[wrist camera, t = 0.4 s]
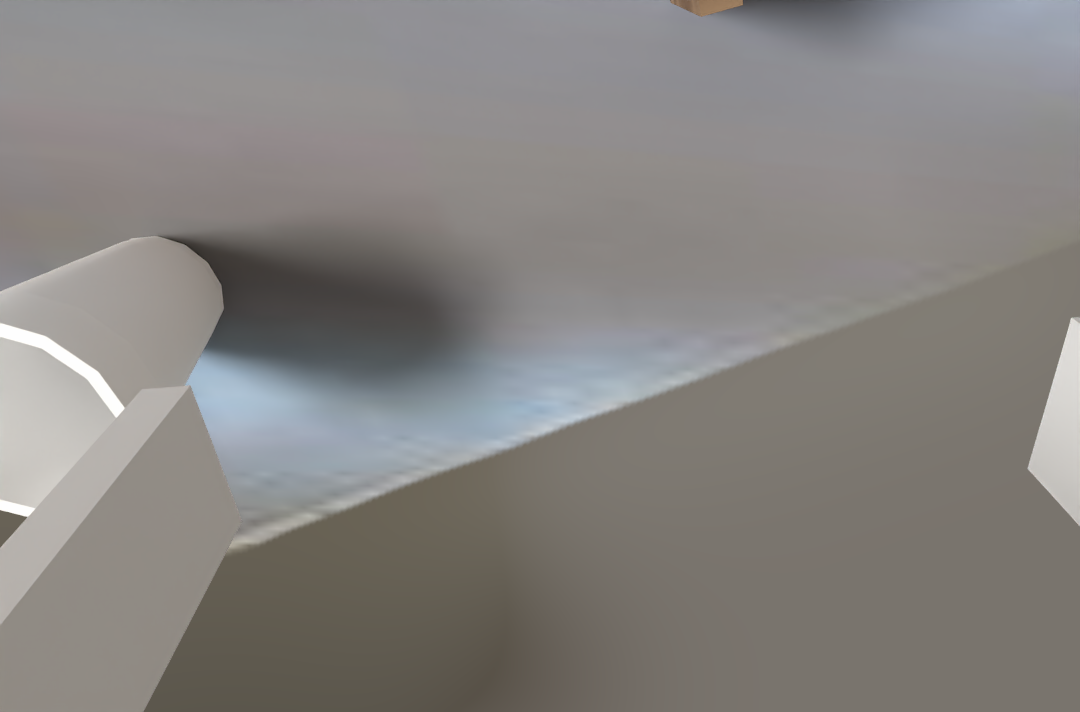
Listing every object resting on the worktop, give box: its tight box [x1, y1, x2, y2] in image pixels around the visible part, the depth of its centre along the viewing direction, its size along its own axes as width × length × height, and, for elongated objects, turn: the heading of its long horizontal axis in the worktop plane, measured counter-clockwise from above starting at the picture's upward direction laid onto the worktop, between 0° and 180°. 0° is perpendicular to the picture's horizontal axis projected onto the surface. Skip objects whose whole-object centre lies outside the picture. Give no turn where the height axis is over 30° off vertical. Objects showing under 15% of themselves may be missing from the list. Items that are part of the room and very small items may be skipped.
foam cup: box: [0, 236, 224, 517], centre depth 35 cm, size 10×9×13 cm
